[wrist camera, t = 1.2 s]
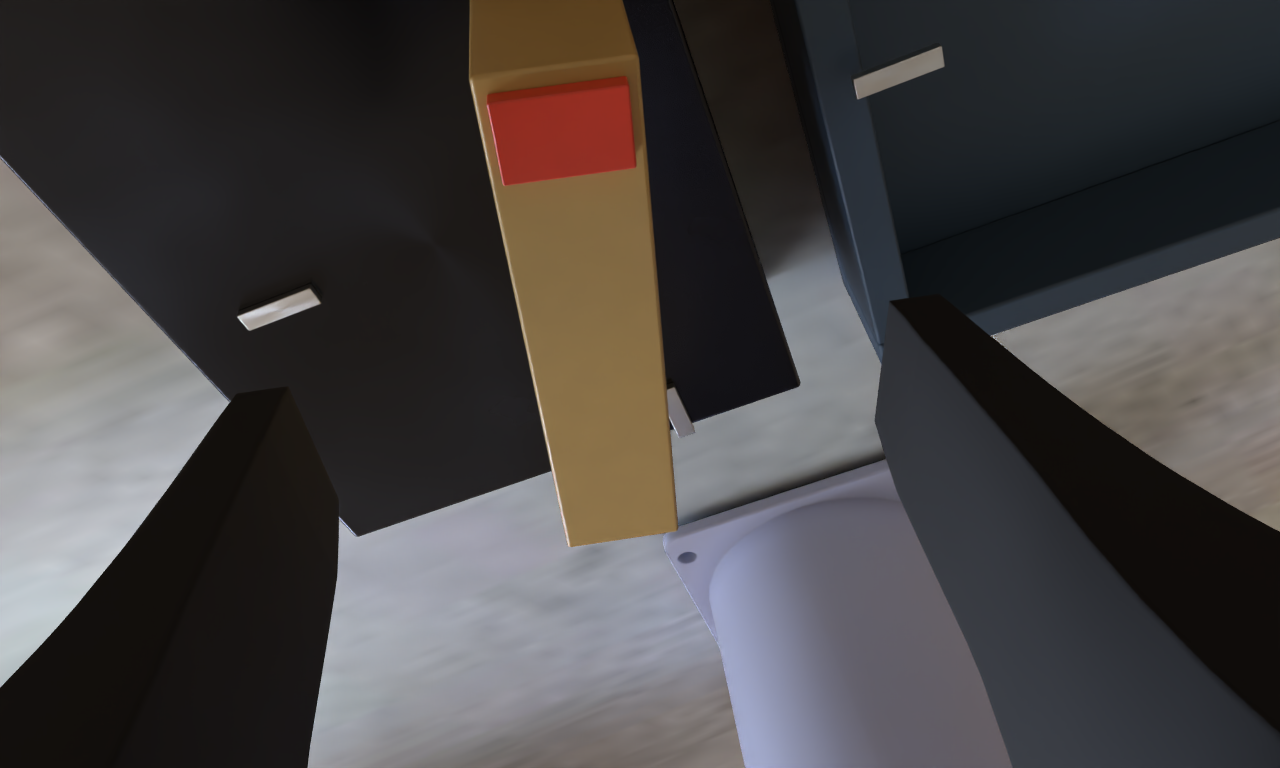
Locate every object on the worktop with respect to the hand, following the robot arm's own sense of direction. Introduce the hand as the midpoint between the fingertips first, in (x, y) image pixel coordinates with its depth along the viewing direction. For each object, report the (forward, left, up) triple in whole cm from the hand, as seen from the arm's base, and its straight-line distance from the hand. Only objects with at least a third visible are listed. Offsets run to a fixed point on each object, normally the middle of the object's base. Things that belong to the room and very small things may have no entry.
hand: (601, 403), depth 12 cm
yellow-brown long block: (0, 0, -5) cm, 5 cm away
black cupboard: (0, +1, -9) cm, 9 cm away
